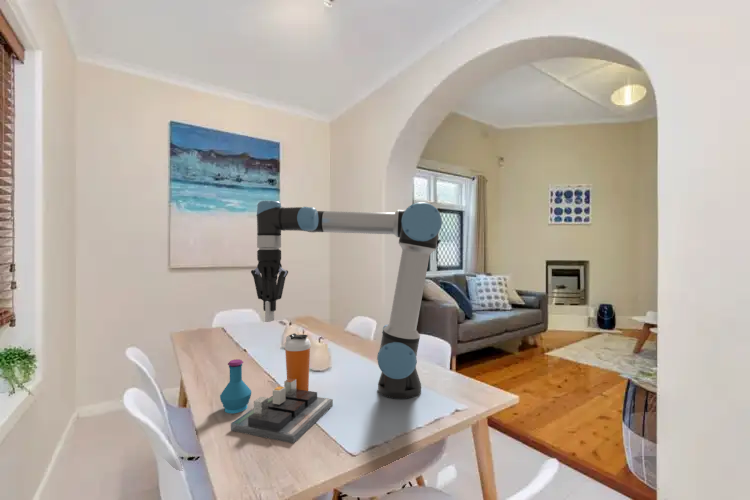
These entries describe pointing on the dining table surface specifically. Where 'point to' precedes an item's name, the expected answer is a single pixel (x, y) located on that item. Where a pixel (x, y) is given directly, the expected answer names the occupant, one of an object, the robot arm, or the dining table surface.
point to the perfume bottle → (235, 390)
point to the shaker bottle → (298, 359)
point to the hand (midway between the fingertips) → (269, 320)
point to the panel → (288, 427)
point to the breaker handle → (279, 395)
